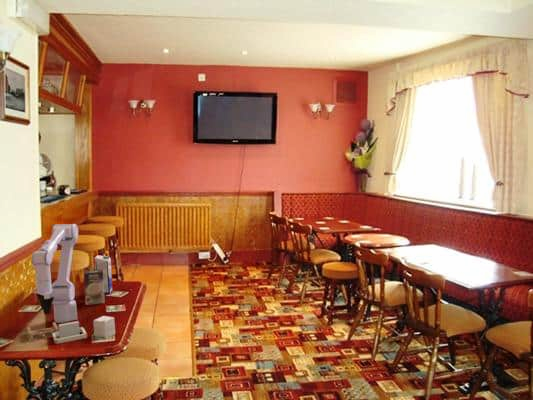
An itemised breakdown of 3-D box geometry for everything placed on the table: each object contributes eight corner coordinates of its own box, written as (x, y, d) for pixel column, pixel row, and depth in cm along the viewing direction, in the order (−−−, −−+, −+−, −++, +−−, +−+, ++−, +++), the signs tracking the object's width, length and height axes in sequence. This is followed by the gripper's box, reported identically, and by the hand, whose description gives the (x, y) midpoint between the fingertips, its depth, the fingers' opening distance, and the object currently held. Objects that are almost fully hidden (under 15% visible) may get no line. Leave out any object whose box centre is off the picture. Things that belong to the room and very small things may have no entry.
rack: (55, 329, 217) (54, 321, 216) (58, 337, 208) (58, 328, 208) (27, 335, 211) (26, 326, 211) (29, 342, 203) (28, 334, 202)
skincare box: (104, 332, 213) (102, 315, 212) (115, 334, 210) (114, 317, 209) (93, 337, 207) (92, 320, 206) (105, 339, 205) (104, 321, 204)
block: (79, 335, 208) (78, 321, 208) (79, 336, 207) (78, 322, 206) (59, 339, 204) (58, 324, 204) (60, 340, 203) (59, 325, 202)
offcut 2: (54, 334, 210) (54, 329, 209) (55, 335, 208) (55, 331, 207) (44, 335, 208) (44, 331, 208) (45, 337, 206) (44, 332, 206)
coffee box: (85, 305, 249) (83, 273, 248) (85, 301, 255) (83, 270, 254) (104, 303, 252) (103, 271, 250) (104, 299, 258) (102, 268, 256)
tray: (83, 332, 213) (82, 327, 212) (87, 339, 205) (86, 333, 205) (52, 338, 207) (52, 332, 206) (55, 345, 199) (55, 340, 199)
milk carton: (99, 291, 274) (97, 254, 272) (112, 290, 275) (110, 254, 272) (96, 294, 267) (94, 257, 265) (109, 294, 268) (107, 257, 265)
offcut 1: (42, 336, 207) (42, 331, 207) (43, 338, 205) (42, 333, 205) (32, 338, 205) (32, 333, 205) (32, 340, 204) (32, 335, 203)
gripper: (30, 277, 213) (33, 308, 214) (35, 285, 200) (37, 318, 202) (48, 274, 216) (51, 305, 218) (54, 282, 204) (56, 314, 206)
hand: (46, 311), depth 210 cm, fingers open, 7 cm apart
